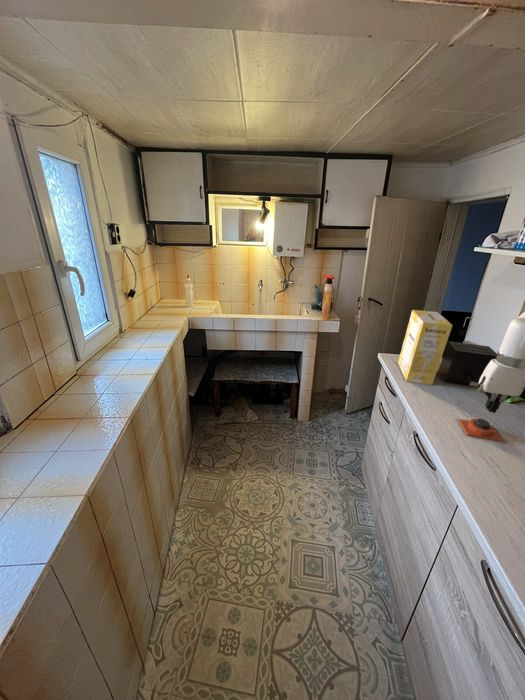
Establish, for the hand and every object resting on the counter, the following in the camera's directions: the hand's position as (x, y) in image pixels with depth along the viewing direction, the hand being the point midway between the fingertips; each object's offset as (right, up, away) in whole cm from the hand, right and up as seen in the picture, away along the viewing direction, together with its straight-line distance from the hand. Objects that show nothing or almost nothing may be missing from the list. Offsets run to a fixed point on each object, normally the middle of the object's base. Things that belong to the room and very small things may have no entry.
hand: (490, 409), depth 91 cm
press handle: (+13, +6, +26) cm, 30 cm away
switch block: (-1, -8, +4) cm, 9 cm away
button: (-1, -6, +3) cm, 7 cm away
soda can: (+24, +11, +48) cm, 55 cm away
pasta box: (-4, +8, +39) cm, 40 cm away
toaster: (+15, +6, +36) cm, 39 cm away
